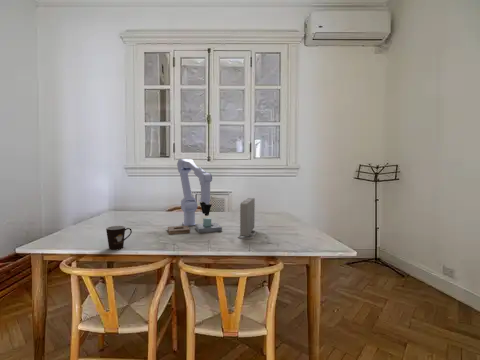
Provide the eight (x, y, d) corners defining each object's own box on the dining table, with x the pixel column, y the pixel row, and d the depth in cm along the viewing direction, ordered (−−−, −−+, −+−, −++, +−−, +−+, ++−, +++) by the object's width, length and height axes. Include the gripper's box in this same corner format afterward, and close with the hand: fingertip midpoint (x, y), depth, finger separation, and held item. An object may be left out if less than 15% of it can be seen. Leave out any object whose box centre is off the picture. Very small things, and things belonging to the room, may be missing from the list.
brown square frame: (167, 229, 185) (167, 226, 185) (187, 228, 189) (187, 225, 189) (169, 234, 174) (169, 230, 174) (189, 232, 177) (189, 229, 177)
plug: (203, 229, 187) (203, 218, 186) (210, 229, 188) (210, 217, 188) (204, 230, 184) (204, 219, 183) (211, 230, 185) (211, 218, 185)
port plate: (195, 228, 191) (195, 224, 191) (216, 226, 195) (216, 222, 195) (198, 232, 177) (198, 228, 177) (221, 231, 182) (221, 227, 181)
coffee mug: (106, 251, 140) (105, 230, 140) (106, 246, 148) (106, 226, 148) (132, 248, 145) (132, 228, 144) (131, 244, 153) (131, 224, 152)
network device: (251, 240, 160) (251, 203, 159) (235, 239, 162) (235, 202, 160) (258, 230, 185) (258, 197, 184) (244, 229, 187) (244, 197, 185)
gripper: (197, 191, 191) (197, 213, 192) (201, 194, 177) (201, 217, 178) (208, 191, 193) (208, 212, 194) (212, 193, 179) (213, 216, 180)
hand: (205, 214), depth 186 cm, fingers open, 7 cm apart
